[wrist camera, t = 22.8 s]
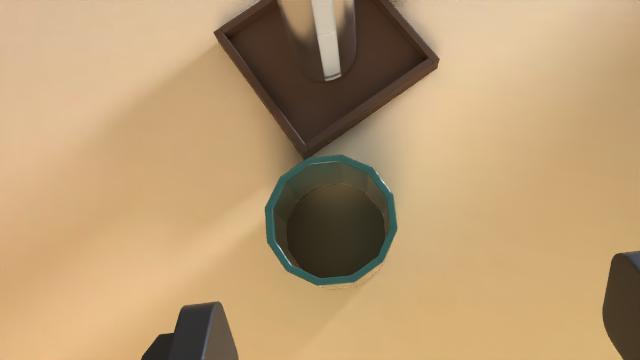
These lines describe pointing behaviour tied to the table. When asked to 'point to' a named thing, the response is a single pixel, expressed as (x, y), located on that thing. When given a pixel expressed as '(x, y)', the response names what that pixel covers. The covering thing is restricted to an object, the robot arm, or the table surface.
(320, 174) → the cup
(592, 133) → the table surface
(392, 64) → the tray
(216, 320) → the robot arm
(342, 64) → the silver metal cylinder
